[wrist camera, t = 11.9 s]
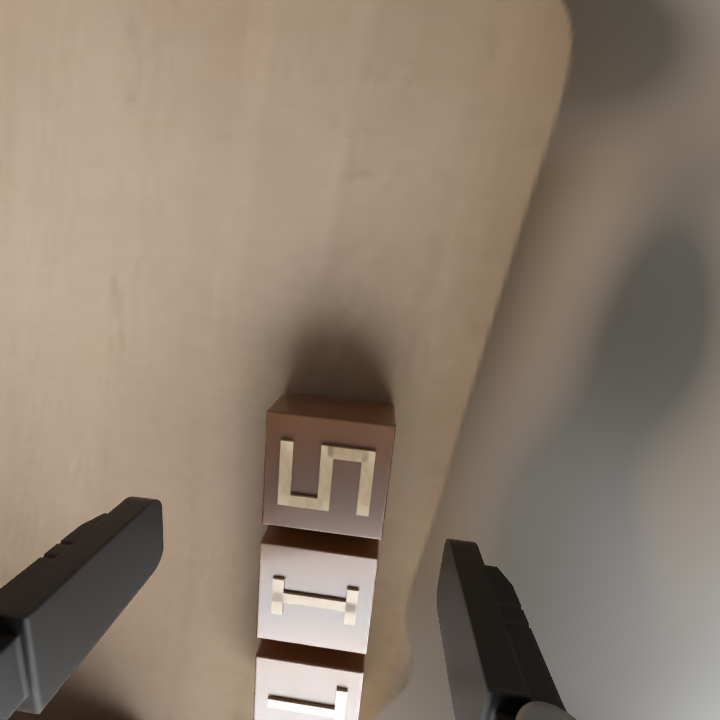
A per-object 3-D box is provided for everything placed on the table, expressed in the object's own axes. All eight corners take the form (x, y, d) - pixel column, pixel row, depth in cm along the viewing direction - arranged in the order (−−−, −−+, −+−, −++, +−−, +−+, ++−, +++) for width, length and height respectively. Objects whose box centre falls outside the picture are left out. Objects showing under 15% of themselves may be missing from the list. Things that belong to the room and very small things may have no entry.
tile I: (278, 505, 17) (259, 543, 14) (379, 519, 17) (378, 560, 14) (273, 590, 18) (255, 640, 15) (368, 604, 18) (366, 657, 15)
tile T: (272, 606, 18) (254, 658, 16) (367, 620, 18) (363, 675, 15) (269, 680, 19) (251, 740, 17) (358, 694, 19) (353, 757, 16)
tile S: (284, 391, 16) (265, 411, 13) (394, 404, 15) (396, 426, 13) (279, 490, 17) (260, 526, 14) (382, 503, 16) (381, 542, 14)
